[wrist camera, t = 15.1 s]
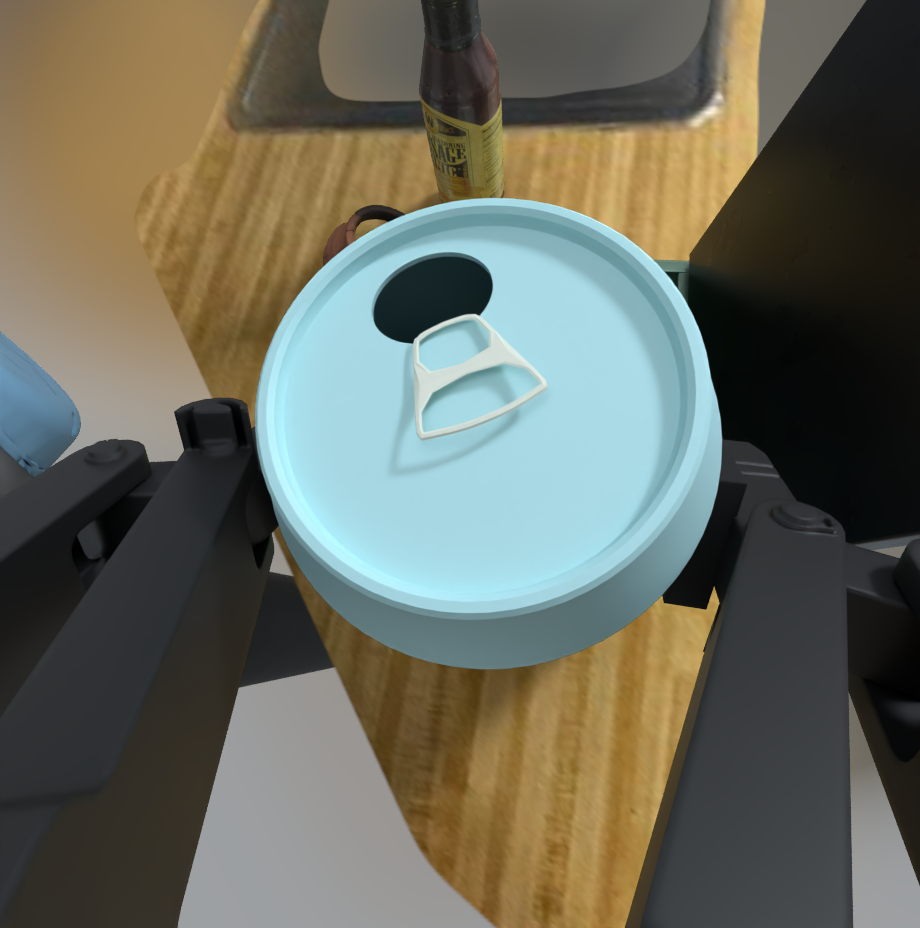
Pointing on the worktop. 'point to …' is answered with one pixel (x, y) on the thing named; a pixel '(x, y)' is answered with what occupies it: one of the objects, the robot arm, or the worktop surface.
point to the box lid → (829, 287)
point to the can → (490, 433)
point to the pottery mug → (346, 231)
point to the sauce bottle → (461, 102)
